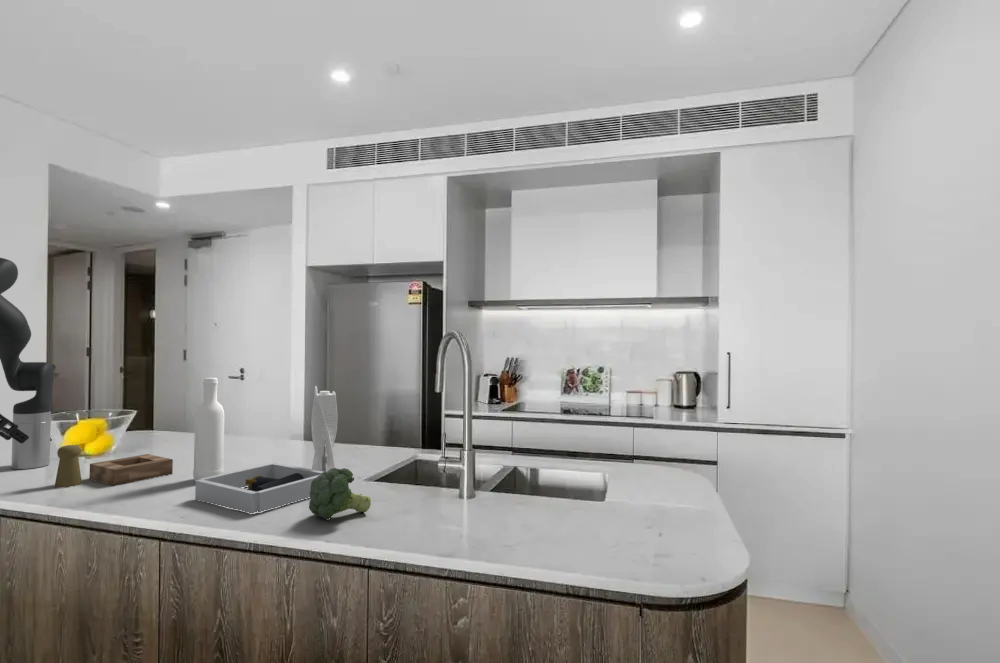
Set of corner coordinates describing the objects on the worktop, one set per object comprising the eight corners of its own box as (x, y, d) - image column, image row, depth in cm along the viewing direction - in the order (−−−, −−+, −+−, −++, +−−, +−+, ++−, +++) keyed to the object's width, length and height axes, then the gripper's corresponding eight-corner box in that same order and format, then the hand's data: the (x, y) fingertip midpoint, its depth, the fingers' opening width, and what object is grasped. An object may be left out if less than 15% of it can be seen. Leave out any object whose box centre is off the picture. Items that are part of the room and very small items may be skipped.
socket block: (89, 479, 158) (89, 463, 158) (147, 468, 172) (147, 454, 172) (114, 485, 151) (114, 469, 151) (172, 474, 165) (172, 459, 165)
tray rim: (193, 499, 139) (193, 480, 139) (273, 479, 160) (273, 462, 161) (254, 515, 127) (254, 494, 128) (331, 491, 149) (332, 473, 149)
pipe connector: (229, 482, 138) (270, 469, 152) (229, 503, 138) (270, 487, 152) (267, 487, 135) (305, 473, 149) (266, 508, 135) (304, 492, 149)
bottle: (227, 479, 160) (229, 378, 160) (198, 484, 154) (201, 379, 154) (217, 474, 165) (219, 376, 166) (189, 479, 159) (191, 377, 160)
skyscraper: (301, 482, 158) (303, 386, 158) (320, 475, 165) (322, 384, 166) (324, 485, 155) (326, 387, 155) (343, 478, 162) (344, 385, 163)
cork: (70, 487, 149) (71, 447, 149) (48, 487, 149) (49, 447, 149) (87, 482, 155) (88, 443, 155) (66, 481, 155) (67, 443, 155)
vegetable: (379, 513, 124) (320, 491, 117) (350, 542, 129) (291, 524, 122) (382, 472, 134) (327, 450, 127) (355, 501, 139) (300, 481, 132)
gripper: (-14, 389, 131) (43, 429, 141) (-36, 386, 138) (19, 425, 148) (-44, 413, 126) (17, 453, 136) (-66, 408, 133) (-7, 447, 143)
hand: (18, 438), depth 142 cm, fingers open, 8 cm apart
